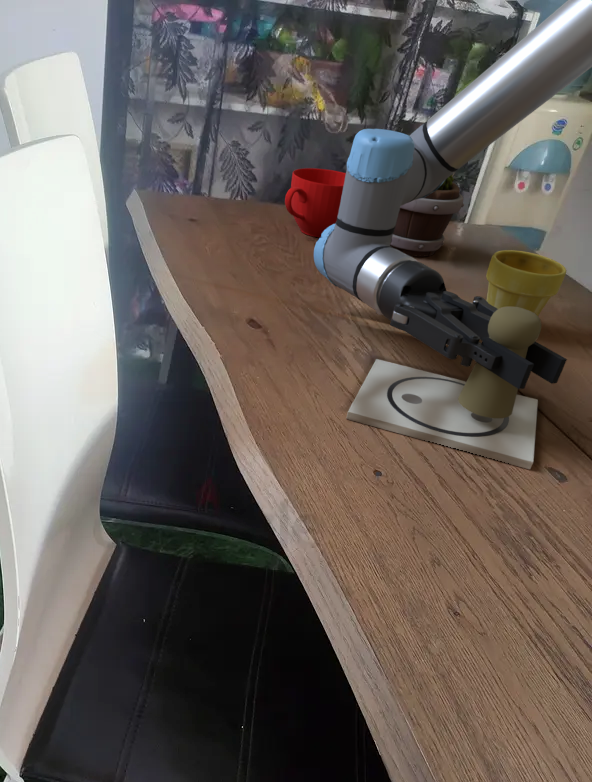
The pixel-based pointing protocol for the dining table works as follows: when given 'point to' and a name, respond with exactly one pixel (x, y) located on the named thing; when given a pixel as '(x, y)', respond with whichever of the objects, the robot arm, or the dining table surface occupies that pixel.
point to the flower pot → (523, 280)
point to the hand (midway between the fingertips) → (542, 373)
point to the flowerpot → (426, 220)
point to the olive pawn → (485, 387)
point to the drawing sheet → (443, 414)
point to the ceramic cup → (315, 199)
